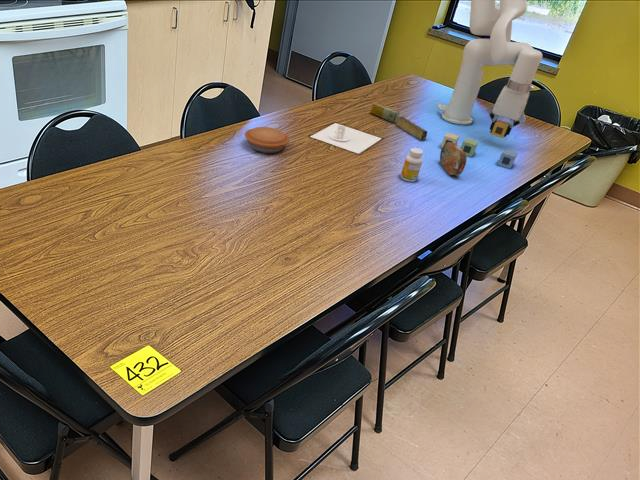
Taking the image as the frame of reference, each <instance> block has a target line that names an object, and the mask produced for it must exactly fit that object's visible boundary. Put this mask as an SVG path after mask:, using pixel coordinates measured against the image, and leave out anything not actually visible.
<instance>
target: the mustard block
mask: <svg viewBox="0 0 640 480" xmlns="http://www.w3.org/2000/svg"><path fill="white" fill-rule="evenodd" d="M509 125H510V122H508V121H505V120H502V119H497V122H496V123H495V125H494V128H493V130H492V133H490V135H492V136H494V137H498V138H500V139H504V138H505V137H504V135H505V132H506V130H507V128H508V126H509Z"/></svg>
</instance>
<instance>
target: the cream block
mask: <svg viewBox="0 0 640 480" xmlns="http://www.w3.org/2000/svg"><path fill="white" fill-rule="evenodd" d="M459 140H460V135H458V134H454V133H451V132H446V133H445V134H444V136H443V139H442V142H441V144H440V149H442V148H443V146H444V145H445V143H447V142H451V143H456V144H457V145H458V143H459Z"/></svg>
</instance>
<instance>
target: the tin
mask: <svg viewBox="0 0 640 480" xmlns="http://www.w3.org/2000/svg"><path fill="white" fill-rule="evenodd" d="M439 163H440V165H441V167H442V168H443V169H444V171H446V173H447V174H448V175H449V176H460V175H461V174H462V173H463V172H464V170H465V167H466V164H467V156H466V154H465V152H464V151H463V150H462V149H461V146H459V145H458V143H457V144H456V143H451V142H447V143H445V145H444V146H443V148H441V150H440V154H439Z"/></svg>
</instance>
